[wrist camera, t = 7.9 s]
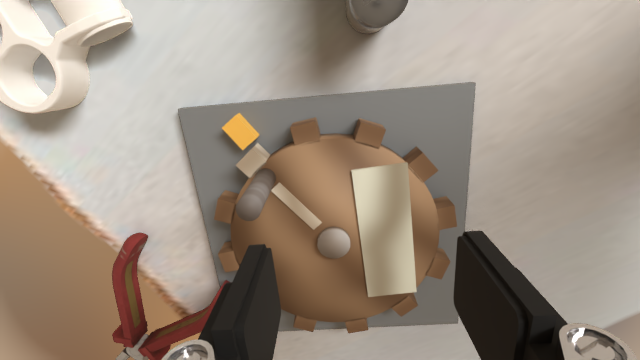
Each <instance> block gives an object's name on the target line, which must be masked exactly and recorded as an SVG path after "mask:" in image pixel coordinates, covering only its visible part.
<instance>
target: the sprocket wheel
mask: <svg viewBox="0 0 640 360" xmlns="http://www.w3.org/2000/svg"><path fill="white" fill-rule="evenodd" d="M290 130H291V133H292V137H293V140H294V141H293V142H291V143H289V144H287V145H285V146H283V147H281V148H280V149H278V150H277V151H275V152H273V153H272V154H271V155H270V154H269V153H268V152H267V151H266V150H265V149H264V148H263V147H262V146H261V145H260V144H259V143H257V144H256V145H255V146H254V147H253V148H252V149H251V150H250V151H249V152H248V153H247V154H246V155H245V156H244V157H243V158H242V159H241V160H240V161H239V162H238V163H237V164H236V166H237V167H238V168H239V169H240V170H241V171H242V172H243V173H245V174H246V175H247V176H248V177H249V179H248V180H247V182H246V183H245V185H244V186H243V188H242V189H241V191H240V193H239V194H238V193H234V192H231V191H227V190H225V191H224V192H223V193H222V195H221V196H220V197H219V198H218V201H217V206H216V211H215V217H214V220H218V221H221V222H225V223H229V224H231V241H229V242H225V243H224V244H223V246H222V248H221V250H220V251H219V253H218V256H219V258H220V261H221V263H222V265H223V268H224V270H225V272H230V271H235V270H238V269H239V266H240V264H241V262H242V260H243V257H244V255H245V253H246V251H247V248H248V246H249V245H257V244H265V245H266V248H271V250H272V256H273V262H274V268H275V274H276V280H277V286H278V292H279V298H280V305H281V309H282V310H284V311H286V312H289V313H291V314H293V315H295V318H294V325H293V327H295V328H299V329H303V330H307V331H311V332H313V330H314V328H315V325H316V322H317V321H323V322H345V324H346V327H347V331H348V333H353V332H359V331H365V330H368V323H367V318H368V317H371V316H374V315H377V314H380V313H382V312H384V311H386V310H388V309H390V308H392V309H393V310H394V311H395V312H396V313H397V314H398V315H400V316H401V317H402V316H403V315H405V314H406V313H408V312H409V311H411V310H412V309H414V308H415V307H417V306H418V304H417V301H416V298H415V296H414V293H413V292H417V290H416V288H417V287H418V286H419V285H420V283H421V282H422V281H423V279H424V278H425V277H426V276H430V277H433V278H437V279H441V280H442V278H443V276H444V274H445V272H446V270H447V268H448V266H449V264H450V262H451V261H450V260H449V258H448V256H447V255H446V253H445V251H444V250H443V249H441V248H438V244H439V233H440V230H443V229H448V228H453V227H457V221H456V213H455V205H454V204H453V203H452V202H451V201H450V200H449V198H448V197H447V196H444V197H439V198H434V199H433V198H432V195H431V194H430V192H429V190H428V188H427V187H426V185H425V183H424V182H425V181H426V180H427V179H429V178H430V177H431V176H432V175H434V174H435V173H436V172H437V171H439V170H438V169H437V168H436V167H435V166H434V165H433V163H432V162H431V161H430V160H429V159H428V158H427V157H426V156H425V154H424V153H423V152H422V151H421V150H420V149H419V148H418V147H417V146H416V147H415V148H414V149H413V150H411V151H410V152H409V153H408V154H407V155H405V156H404V157H403V158H402V157H401V156H400V155H398V154H397V153H395V152H394V151H393V150H391V149H390V148H388V147H386V146H384V145H382V144H381V142H382V140H383V137H384V134H385V131H386V129H385V128H384V127H383V125H381V124H378V123H374V122H371V121H367V120H364V119H361V118H359V119H358V122H357V125H356V128H355V131H354V134H353V135H350V134H339V133H333V134H320V130H319V126H318V122H317V118H316V117H314V118H310V119H306V120H302V121H298V122H294V123H292V125H291V126H290Z"/></svg>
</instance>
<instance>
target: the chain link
mask: <svg viewBox="0 0 640 360" xmlns="http://www.w3.org/2000/svg"><path fill="white" fill-rule="evenodd" d="M407 3H408V0H346V15H347V19H348V21H349V23H350V25H351V26H352V27H353V28H354V29H355V30H357V31H358V32H360V33H364V34H371V33H375V32H377V31H379V30H380V29H382V28H383V27H385V26H386V25H388V24H389V23H391V22H392V21H394V20H395V19H396V18H398V17H399V16H400V15H401V13H402V12H403V11H404V9H405V7H406V5H407Z"/></svg>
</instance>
